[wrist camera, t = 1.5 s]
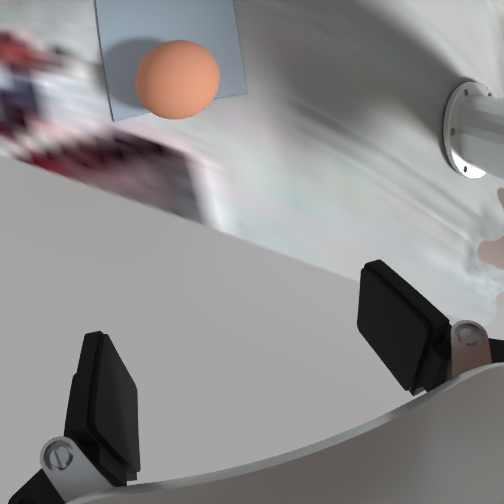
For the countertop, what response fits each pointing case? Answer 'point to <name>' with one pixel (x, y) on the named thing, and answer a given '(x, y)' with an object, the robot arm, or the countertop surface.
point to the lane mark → (161, 31)
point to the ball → (177, 79)
